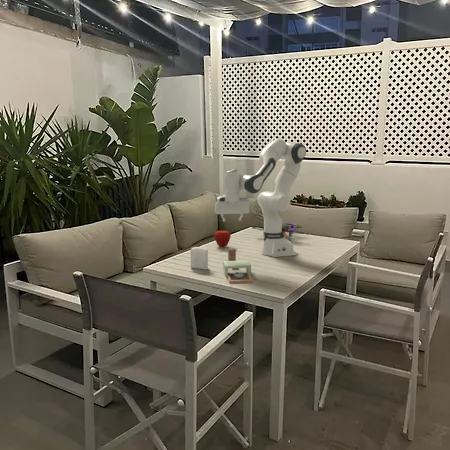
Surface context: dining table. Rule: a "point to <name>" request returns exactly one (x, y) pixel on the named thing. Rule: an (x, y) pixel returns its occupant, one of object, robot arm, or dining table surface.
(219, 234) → the apple
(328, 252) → the dining table surface
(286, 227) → the drone
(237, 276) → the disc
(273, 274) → the dining table surface
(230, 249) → the wooden handled metal tool
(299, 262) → the dining table surface
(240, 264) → the stand
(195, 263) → the photo printer
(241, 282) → the frame
